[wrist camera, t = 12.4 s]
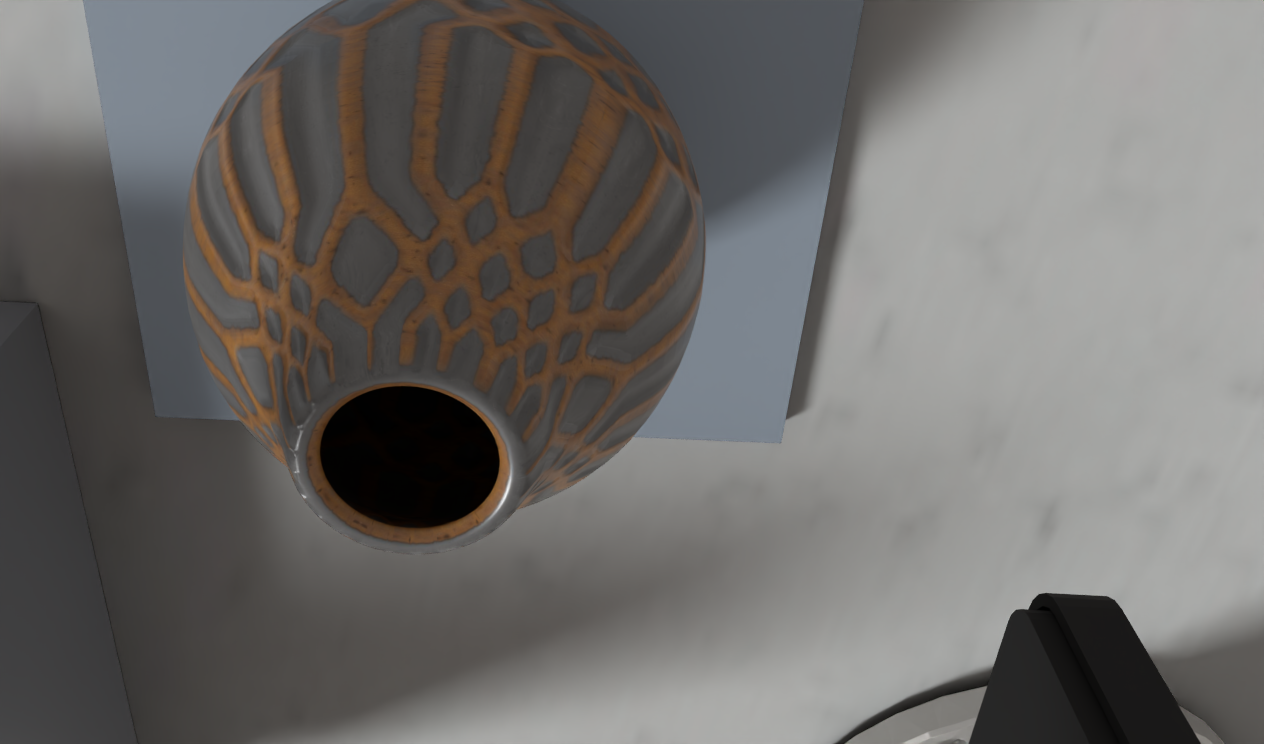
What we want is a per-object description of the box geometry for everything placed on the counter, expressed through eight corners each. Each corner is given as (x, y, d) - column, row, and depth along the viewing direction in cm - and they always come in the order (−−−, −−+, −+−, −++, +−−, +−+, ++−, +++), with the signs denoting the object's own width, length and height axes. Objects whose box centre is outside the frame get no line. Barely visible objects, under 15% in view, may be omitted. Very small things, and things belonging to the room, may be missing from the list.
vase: (187, 188, 19) (-70, 527, 11) (408, -173, 16) (262, -40, 8) (526, 392, 21) (499, 783, 14) (767, 110, 18) (898, 406, 11)
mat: (900, -252, 16) (911, -250, 16) (776, 425, 22) (780, 443, 22) (43, -333, 15) (25, -333, 15) (165, 399, 21) (155, 416, 21)
